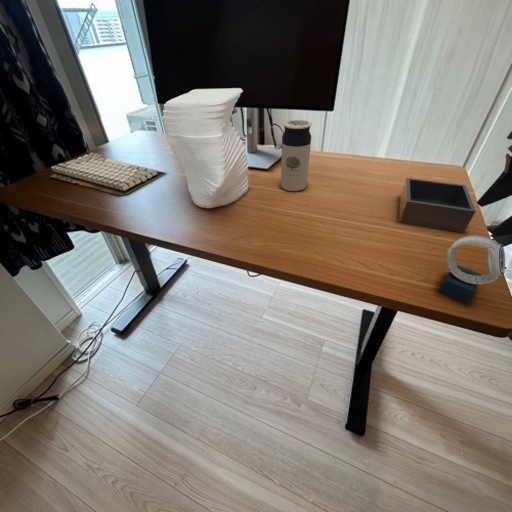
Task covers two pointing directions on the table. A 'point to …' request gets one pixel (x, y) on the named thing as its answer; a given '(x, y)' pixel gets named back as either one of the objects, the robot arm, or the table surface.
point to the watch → (464, 280)
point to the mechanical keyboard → (105, 174)
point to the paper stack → (208, 145)
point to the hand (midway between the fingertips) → (485, 218)
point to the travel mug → (295, 154)
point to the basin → (436, 205)
